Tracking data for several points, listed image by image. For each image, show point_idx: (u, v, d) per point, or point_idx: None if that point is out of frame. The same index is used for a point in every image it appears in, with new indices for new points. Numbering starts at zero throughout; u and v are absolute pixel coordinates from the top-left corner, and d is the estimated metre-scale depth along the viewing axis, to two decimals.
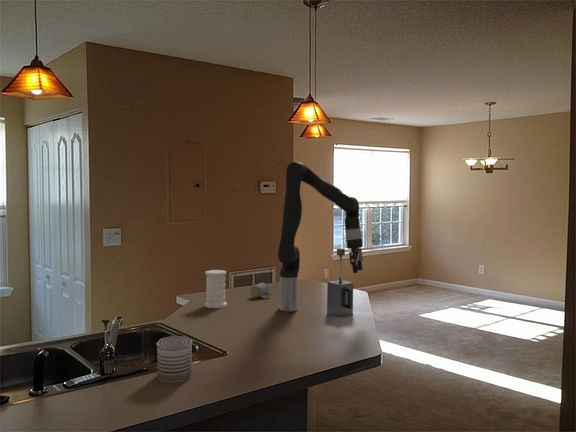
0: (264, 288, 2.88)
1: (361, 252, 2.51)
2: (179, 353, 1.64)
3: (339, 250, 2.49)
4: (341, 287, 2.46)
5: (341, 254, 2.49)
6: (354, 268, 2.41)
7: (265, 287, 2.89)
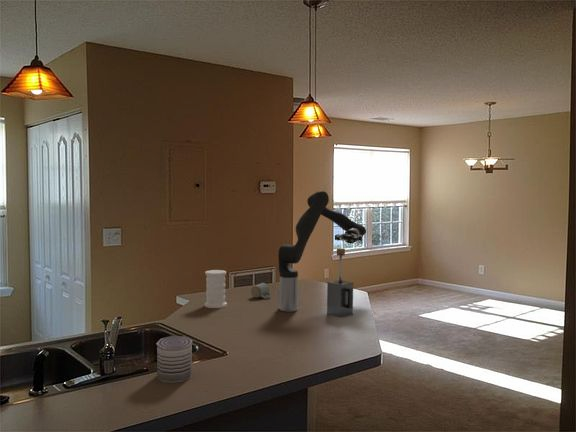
0: (265, 288, 2.88)
1: None
2: (179, 353, 1.64)
3: (339, 250, 2.49)
4: (341, 287, 2.46)
5: (341, 254, 2.49)
6: None
7: (266, 287, 2.89)
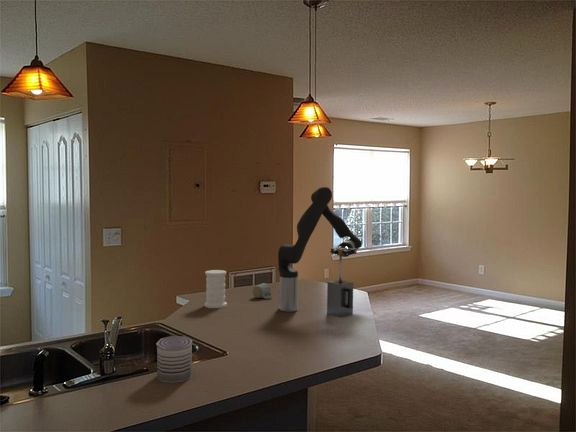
0: (266, 288, 2.87)
1: (332, 252, 2.58)
2: (179, 353, 1.64)
3: (339, 250, 2.49)
4: (341, 287, 2.46)
5: (341, 254, 2.49)
6: None
7: (267, 287, 2.88)
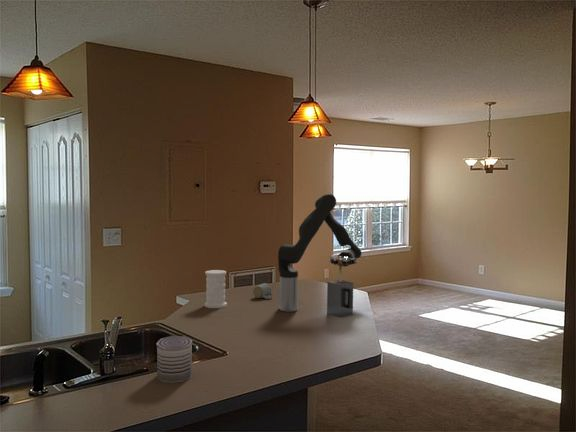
0: (267, 288, 2.87)
1: None
2: (179, 353, 1.64)
3: (339, 260, 2.49)
4: (341, 287, 2.46)
5: (341, 264, 2.49)
6: None
7: (267, 287, 2.88)
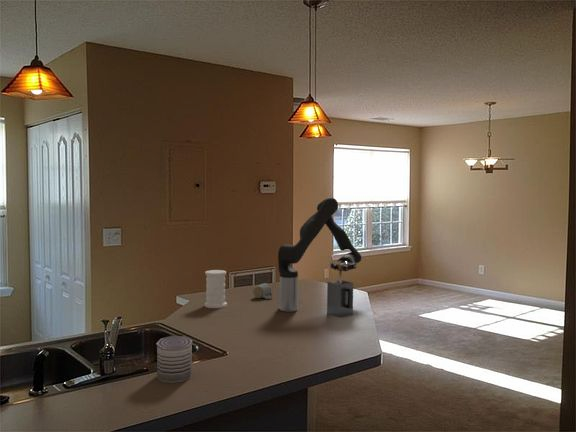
0: (267, 288, 2.87)
1: None
2: (179, 353, 1.64)
3: (339, 265, 2.50)
4: (341, 287, 2.46)
5: (341, 269, 2.50)
6: None
7: (268, 287, 2.88)
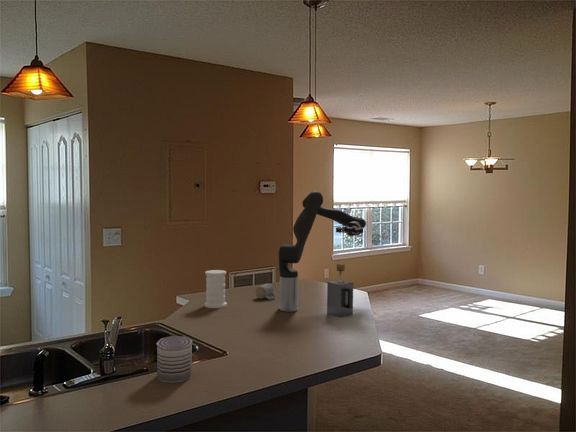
0: (269, 289, 2.86)
1: None
2: (179, 353, 1.64)
3: (339, 266, 2.50)
4: (341, 287, 2.46)
5: (341, 270, 2.50)
6: None
7: (270, 287, 2.87)
